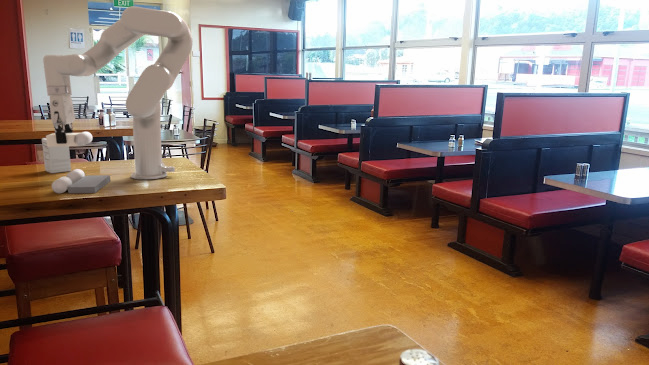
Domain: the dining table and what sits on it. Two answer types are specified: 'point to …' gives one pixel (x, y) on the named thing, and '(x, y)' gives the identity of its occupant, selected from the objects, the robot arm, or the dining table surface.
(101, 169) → the dining table surface
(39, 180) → the dining table surface
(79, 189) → the fixed leaf
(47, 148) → the supplement box
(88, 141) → the cream hinge flap
